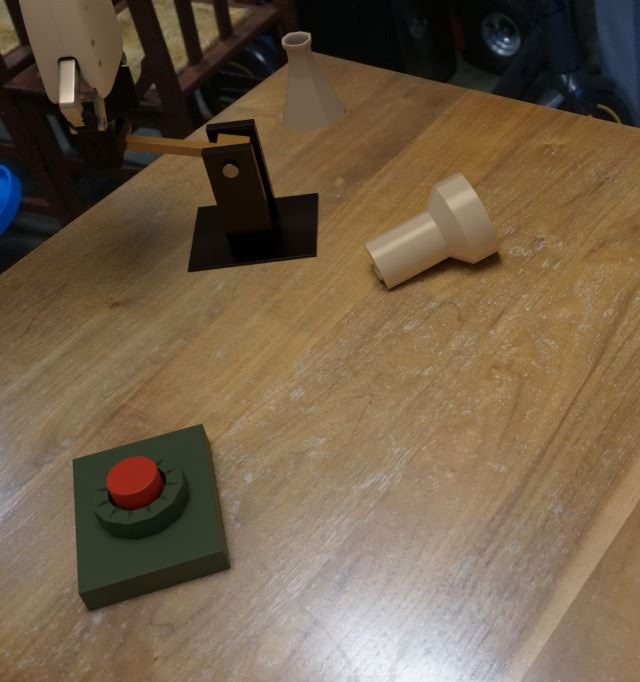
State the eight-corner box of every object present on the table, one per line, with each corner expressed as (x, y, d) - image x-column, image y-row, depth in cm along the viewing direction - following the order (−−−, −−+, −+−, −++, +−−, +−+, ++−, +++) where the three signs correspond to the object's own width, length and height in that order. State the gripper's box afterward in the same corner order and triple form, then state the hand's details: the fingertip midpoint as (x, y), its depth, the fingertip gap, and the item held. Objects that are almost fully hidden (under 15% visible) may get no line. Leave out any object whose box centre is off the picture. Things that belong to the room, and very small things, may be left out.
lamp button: (112, 479, 81) (104, 464, 80) (161, 465, 81) (154, 450, 80) (114, 516, 78) (107, 500, 77) (165, 501, 79) (158, 486, 78)
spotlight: (514, 261, 99) (484, 188, 95) (404, 322, 98) (368, 250, 93) (482, 227, 106) (452, 157, 101) (378, 284, 104) (343, 215, 100)
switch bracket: (190, 279, 103) (154, 175, 95) (201, 216, 110) (167, 114, 102) (318, 264, 103) (292, 158, 95) (320, 202, 111) (296, 99, 103)
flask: (292, 103, 125) (273, 21, 118) (353, 104, 124) (338, 22, 117) (273, 138, 120) (252, 55, 113) (337, 139, 119) (320, 56, 112)
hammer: (102, 167, 97) (101, 143, 95) (111, 136, 100) (110, 113, 99) (246, 180, 99) (247, 158, 98) (250, 150, 103) (251, 128, 101)
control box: (81, 477, 86) (63, 443, 83) (209, 441, 88) (196, 407, 85) (88, 611, 77) (69, 578, 74) (231, 568, 79) (217, 534, 76)
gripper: (25, -90, 92) (89, 91, 104) (-26, 3, 79) (53, 197, 91) (115, -98, 92) (169, 83, 104) (79, -7, 80) (144, 188, 91)
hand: (115, 136), depth 97 cm, fingers open, 9 cm apart
